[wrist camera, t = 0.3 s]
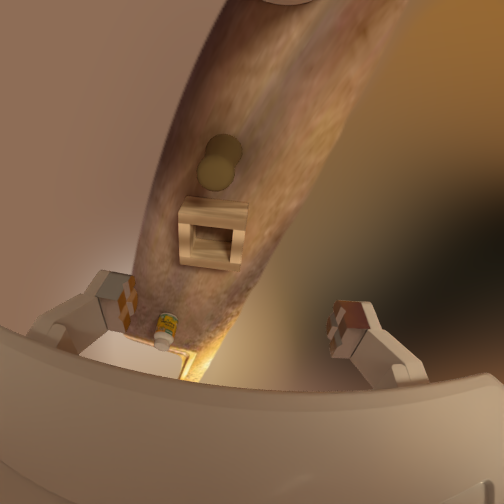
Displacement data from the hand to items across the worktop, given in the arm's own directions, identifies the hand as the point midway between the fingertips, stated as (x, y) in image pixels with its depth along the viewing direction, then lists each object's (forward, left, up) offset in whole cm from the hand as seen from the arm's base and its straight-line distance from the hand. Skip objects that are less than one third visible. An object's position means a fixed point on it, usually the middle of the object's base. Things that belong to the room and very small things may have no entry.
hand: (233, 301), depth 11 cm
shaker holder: (+23, -5, -37) cm, 44 cm away
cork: (+8, -4, -38) cm, 39 cm away
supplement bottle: (+55, -16, -38) cm, 68 cm away
